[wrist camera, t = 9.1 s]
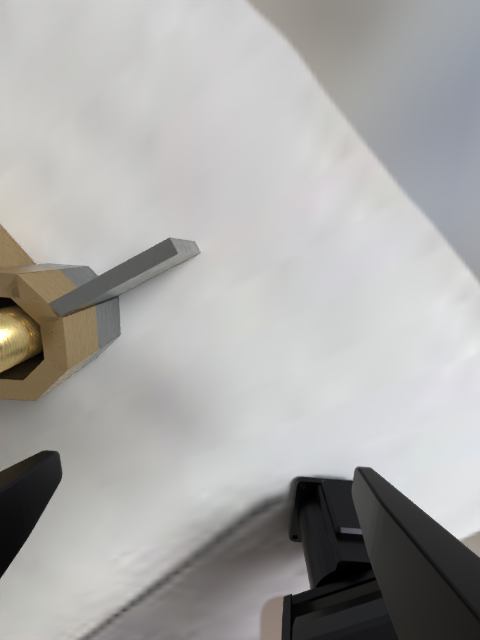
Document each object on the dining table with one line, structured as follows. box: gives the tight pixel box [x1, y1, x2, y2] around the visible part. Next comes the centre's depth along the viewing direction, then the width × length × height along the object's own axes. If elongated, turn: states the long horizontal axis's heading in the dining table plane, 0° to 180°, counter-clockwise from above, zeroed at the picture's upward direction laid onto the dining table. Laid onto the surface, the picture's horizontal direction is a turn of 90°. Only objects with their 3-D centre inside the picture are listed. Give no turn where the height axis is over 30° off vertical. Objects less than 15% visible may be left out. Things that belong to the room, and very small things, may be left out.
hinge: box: [0, 225, 200, 401], centre depth 16 cm, size 12×16×6 cm
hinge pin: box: [0, 305, 43, 373], centre depth 16 cm, size 3×3×8 cm
